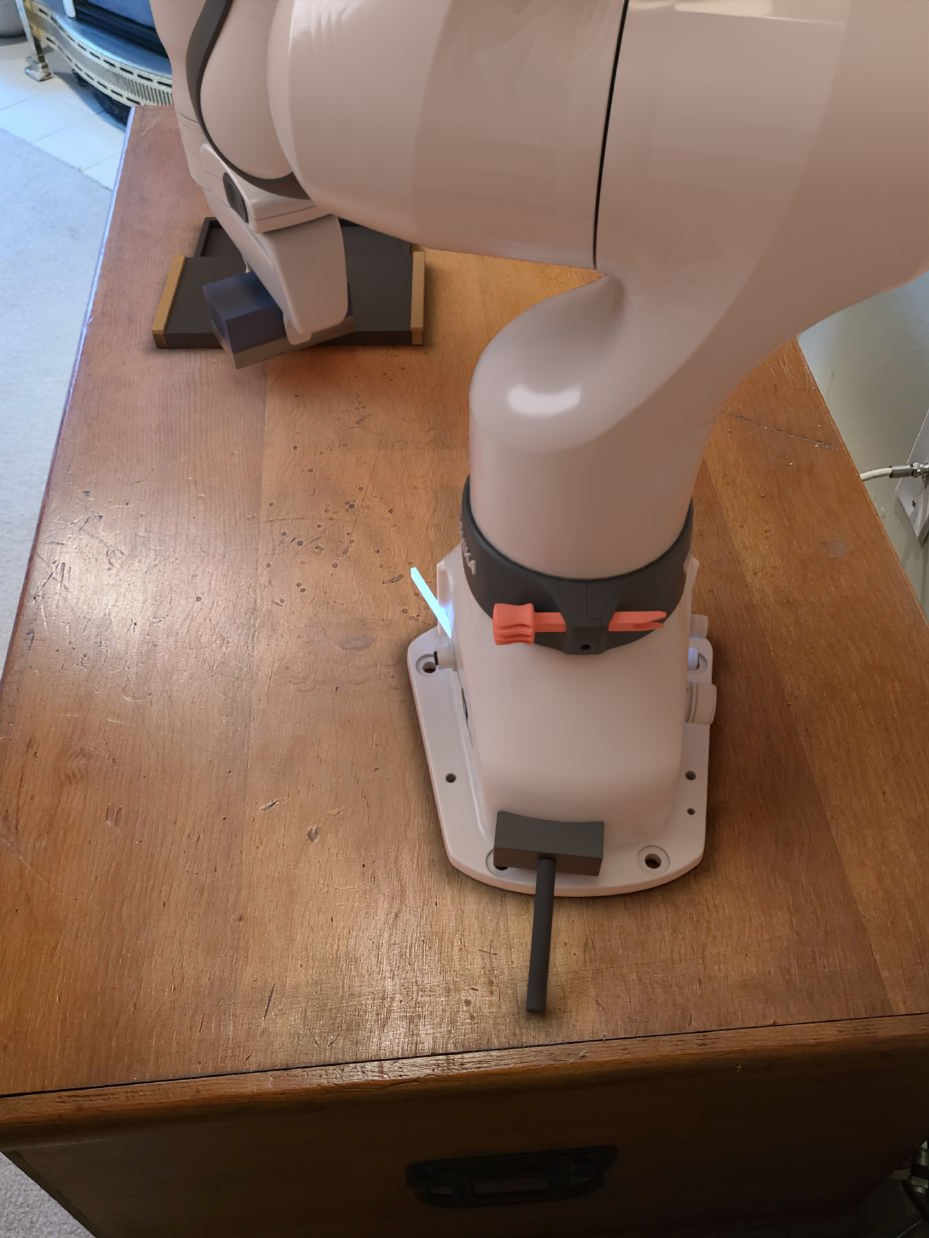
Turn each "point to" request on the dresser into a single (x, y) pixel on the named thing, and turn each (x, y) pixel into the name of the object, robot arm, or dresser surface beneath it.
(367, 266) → the slate board
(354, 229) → the tray
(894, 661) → the dresser surface
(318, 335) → the eraser
